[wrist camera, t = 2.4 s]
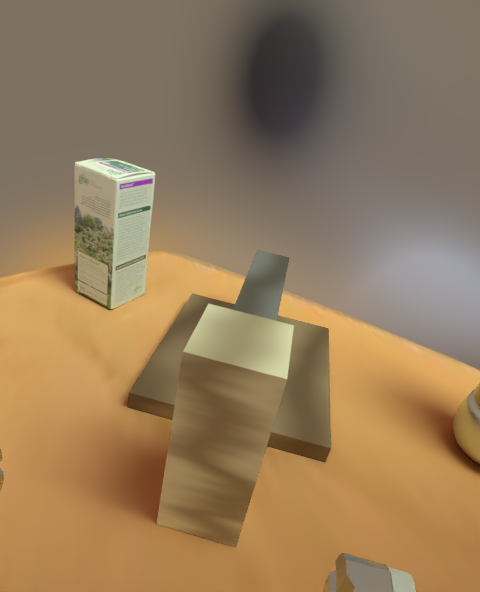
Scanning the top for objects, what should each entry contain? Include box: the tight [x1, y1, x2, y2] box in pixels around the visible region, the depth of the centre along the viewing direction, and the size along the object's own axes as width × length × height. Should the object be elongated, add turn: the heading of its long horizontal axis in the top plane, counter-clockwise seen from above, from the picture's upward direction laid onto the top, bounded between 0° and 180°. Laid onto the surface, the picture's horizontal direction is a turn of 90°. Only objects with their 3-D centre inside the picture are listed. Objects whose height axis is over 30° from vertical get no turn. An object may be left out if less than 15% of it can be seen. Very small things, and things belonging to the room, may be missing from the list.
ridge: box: [128, 250, 331, 462], centre depth 39 cm, size 16×18×9 cm
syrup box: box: [75, 158, 155, 309], centre depth 45 cm, size 6×6×14 cm
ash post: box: [156, 304, 294, 547], centre depth 25 cm, size 5×5×13 cm
